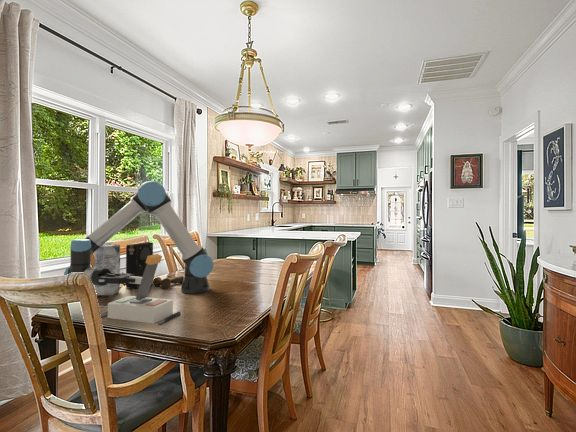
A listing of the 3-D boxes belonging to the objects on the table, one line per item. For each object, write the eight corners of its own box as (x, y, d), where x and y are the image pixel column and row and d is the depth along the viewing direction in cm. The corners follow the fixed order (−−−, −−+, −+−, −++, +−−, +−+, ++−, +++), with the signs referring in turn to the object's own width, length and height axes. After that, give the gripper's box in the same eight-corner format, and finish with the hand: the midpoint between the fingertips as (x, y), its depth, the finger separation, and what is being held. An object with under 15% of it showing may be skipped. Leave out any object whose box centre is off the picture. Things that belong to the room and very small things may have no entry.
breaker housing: (172, 314, 133) (172, 298, 133) (153, 323, 122) (153, 306, 122) (129, 309, 139) (129, 294, 139) (107, 317, 128) (107, 301, 128)
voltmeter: (137, 289, 174) (137, 244, 173) (123, 288, 175) (123, 244, 175) (154, 283, 189) (154, 242, 189) (141, 282, 191) (142, 241, 190)
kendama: (186, 285, 188) (155, 290, 172) (176, 283, 194) (146, 288, 177) (186, 275, 188) (156, 279, 172) (177, 273, 194) (146, 278, 177)
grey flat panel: (181, 314, 133) (181, 311, 133) (160, 325, 120) (160, 321, 120) (124, 307, 141) (124, 304, 141) (99, 317, 128) (99, 313, 128)
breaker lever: (148, 297, 133) (162, 256, 131) (138, 301, 127) (152, 258, 125) (144, 295, 134) (157, 253, 132) (133, 298, 128) (147, 255, 126)
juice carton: (113, 296, 160) (114, 243, 160) (92, 296, 159) (92, 243, 159) (121, 291, 169) (121, 241, 169) (101, 291, 168) (101, 241, 168)
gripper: (109, 282, 143) (153, 286, 136) (84, 288, 130) (131, 293, 124) (110, 265, 142) (154, 269, 136) (84, 270, 130) (131, 274, 123)
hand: (143, 280), depth 130 cm, fingers closed
